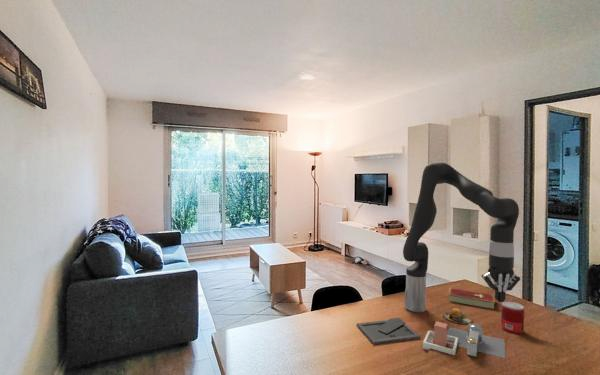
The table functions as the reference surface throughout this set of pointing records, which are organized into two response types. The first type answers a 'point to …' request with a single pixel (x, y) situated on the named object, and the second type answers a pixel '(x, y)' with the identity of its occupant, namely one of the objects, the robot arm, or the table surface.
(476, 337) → the crank
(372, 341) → the picture frame
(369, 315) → the table surface
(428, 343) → the tray
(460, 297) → the hardcover book
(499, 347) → the crank plate
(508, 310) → the canned food
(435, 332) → the block
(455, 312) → the burger
